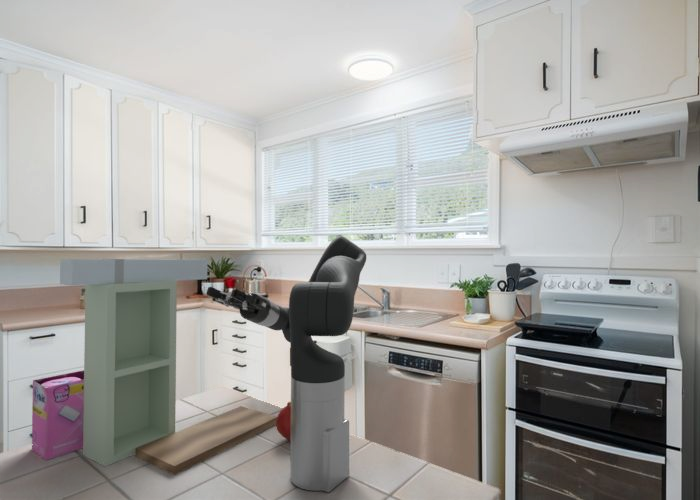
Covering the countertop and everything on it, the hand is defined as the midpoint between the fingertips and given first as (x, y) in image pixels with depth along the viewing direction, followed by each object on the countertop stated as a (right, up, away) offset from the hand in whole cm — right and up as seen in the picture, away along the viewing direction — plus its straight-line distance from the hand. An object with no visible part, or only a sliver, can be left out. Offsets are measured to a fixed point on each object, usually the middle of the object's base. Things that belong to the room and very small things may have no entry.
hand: (220, 291), depth 101 cm
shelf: (-11, -29, -20) cm, 37 cm away
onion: (+20, -29, -18) cm, 39 cm away
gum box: (-20, -29, -15) cm, 38 cm away
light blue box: (-10, +4, -18) cm, 21 cm away
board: (+4, -29, -17) cm, 33 cm away
